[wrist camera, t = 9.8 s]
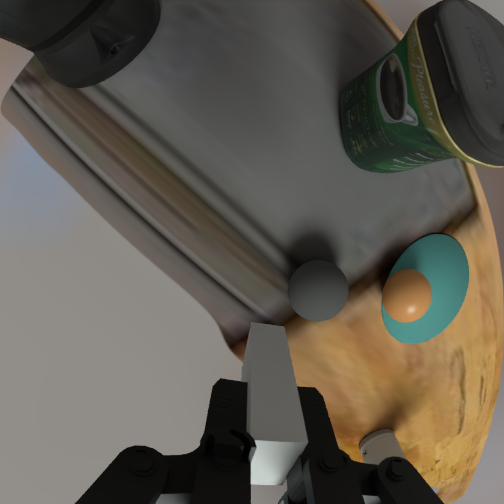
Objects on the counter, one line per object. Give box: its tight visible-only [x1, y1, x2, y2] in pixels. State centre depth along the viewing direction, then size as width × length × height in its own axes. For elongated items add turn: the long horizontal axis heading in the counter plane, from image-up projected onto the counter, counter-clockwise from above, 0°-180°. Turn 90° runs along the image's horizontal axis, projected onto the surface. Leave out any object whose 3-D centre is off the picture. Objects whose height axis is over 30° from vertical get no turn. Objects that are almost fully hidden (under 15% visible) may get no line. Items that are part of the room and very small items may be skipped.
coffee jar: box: [340, 0, 504, 173], centre depth 14 cm, size 10×8×19 cm
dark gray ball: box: [288, 260, 348, 321], centre depth 24 cm, size 6×6×6 cm
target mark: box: [382, 234, 469, 344], centre depth 27 cm, size 14×14×1 cm
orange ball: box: [382, 269, 432, 323], centre depth 24 cm, size 6×6×6 cm
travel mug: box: [359, 429, 407, 465], centre depth 23 cm, size 6×7×20 cm
